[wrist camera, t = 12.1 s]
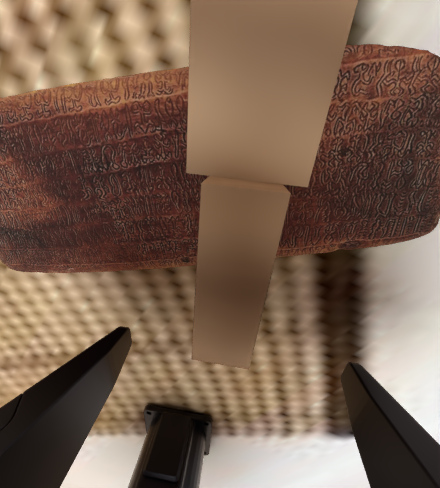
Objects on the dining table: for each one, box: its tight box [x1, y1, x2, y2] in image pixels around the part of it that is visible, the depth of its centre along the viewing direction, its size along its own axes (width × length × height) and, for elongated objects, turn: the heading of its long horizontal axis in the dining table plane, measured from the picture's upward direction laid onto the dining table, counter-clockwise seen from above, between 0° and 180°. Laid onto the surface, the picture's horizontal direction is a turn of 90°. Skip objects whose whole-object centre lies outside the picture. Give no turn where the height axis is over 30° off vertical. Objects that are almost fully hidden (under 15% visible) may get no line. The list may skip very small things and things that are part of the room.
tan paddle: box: [186, 0, 358, 369], centre depth 9 cm, size 17×5×3 cm, turn 175°
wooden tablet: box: [0, 44, 440, 273], centre depth 11 cm, size 26×2×10 cm
